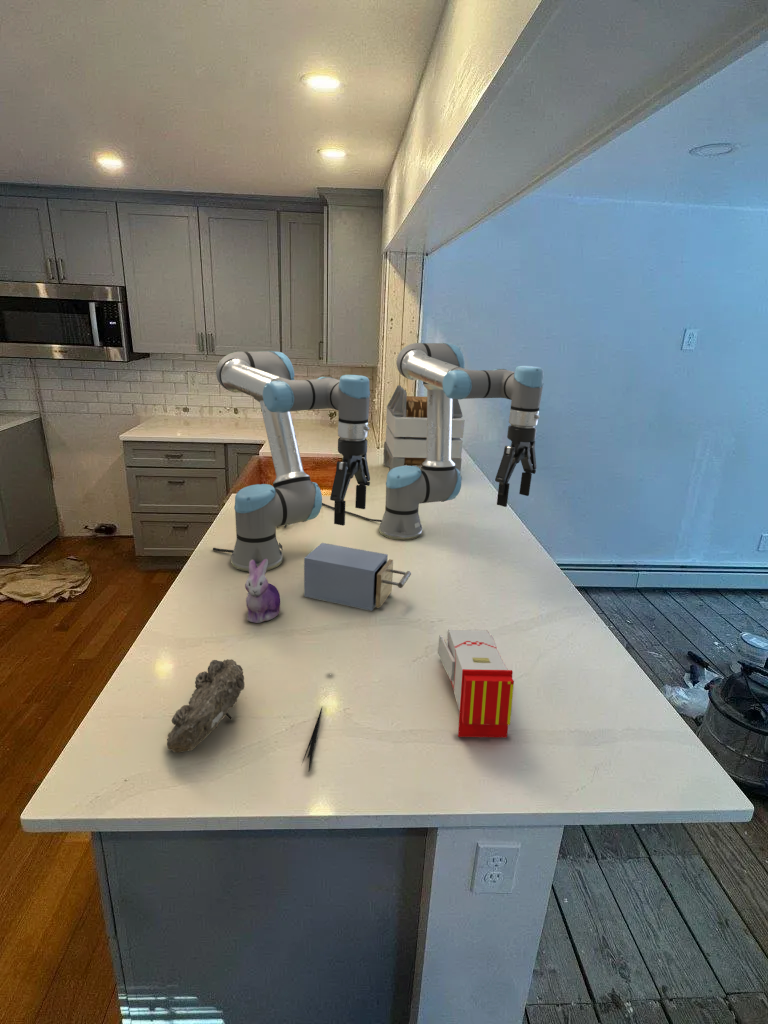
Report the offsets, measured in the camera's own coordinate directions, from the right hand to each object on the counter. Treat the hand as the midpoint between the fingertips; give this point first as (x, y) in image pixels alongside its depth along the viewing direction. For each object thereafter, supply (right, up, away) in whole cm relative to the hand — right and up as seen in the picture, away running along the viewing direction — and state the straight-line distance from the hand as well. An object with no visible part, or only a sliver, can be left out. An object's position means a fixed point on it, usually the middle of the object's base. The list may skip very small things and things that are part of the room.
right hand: (513, 500), depth 160 cm
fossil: (-69, -43, -52) cm, 96 cm away
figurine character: (-73, -7, +45) cm, 86 cm away
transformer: (-19, +15, +115) cm, 117 cm away
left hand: (-46, -5, -9) cm, 47 cm away
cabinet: (-47, -26, -4) cm, 54 cm away
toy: (-19, -41, -42) cm, 61 cm away
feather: (-49, -43, -51) cm, 83 cm away
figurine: (-67, -30, -16) cm, 75 cm away
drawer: (-42, -26, -6) cm, 50 cm away
